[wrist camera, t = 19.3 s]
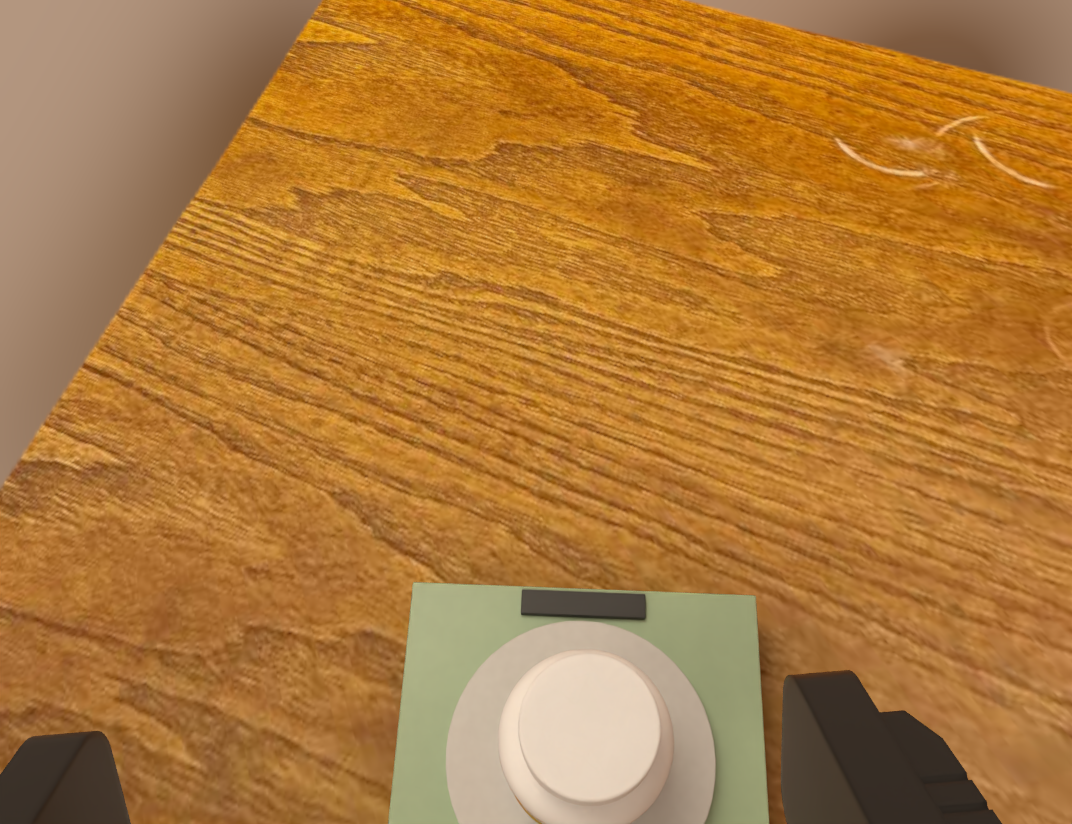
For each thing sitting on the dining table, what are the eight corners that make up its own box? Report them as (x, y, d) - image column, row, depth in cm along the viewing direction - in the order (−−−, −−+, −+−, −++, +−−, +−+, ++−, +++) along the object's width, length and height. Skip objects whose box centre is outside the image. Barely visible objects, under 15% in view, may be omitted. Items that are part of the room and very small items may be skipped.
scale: (388, 938, 35) (371, 946, 32) (422, 600, 41) (410, 576, 38) (760, 958, 35) (783, 968, 31) (742, 612, 41) (760, 590, 37)
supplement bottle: (538, 663, 36) (534, 598, 27) (672, 716, 35) (712, 667, 26) (484, 804, 34) (460, 783, 25) (624, 864, 33) (651, 865, 24)
